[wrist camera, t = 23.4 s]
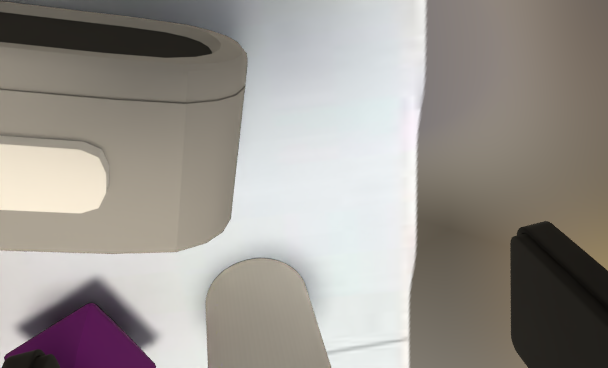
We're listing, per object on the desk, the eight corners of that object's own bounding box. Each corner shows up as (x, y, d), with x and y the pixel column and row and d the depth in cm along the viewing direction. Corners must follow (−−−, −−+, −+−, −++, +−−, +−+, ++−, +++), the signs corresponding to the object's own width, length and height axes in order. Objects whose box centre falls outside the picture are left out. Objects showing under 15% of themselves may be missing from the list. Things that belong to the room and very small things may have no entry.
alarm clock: (239, 26, 36) (263, 79, 24) (225, 163, 40) (240, 268, 28) (-131, -19, 32) (-326, 19, 20) (-108, 141, 35) (-259, 255, 23)
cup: (201, 342, 46) (205, 470, 35) (209, 256, 43) (216, 369, 32) (299, 342, 48) (331, 464, 37) (314, 259, 45) (353, 367, 34)
